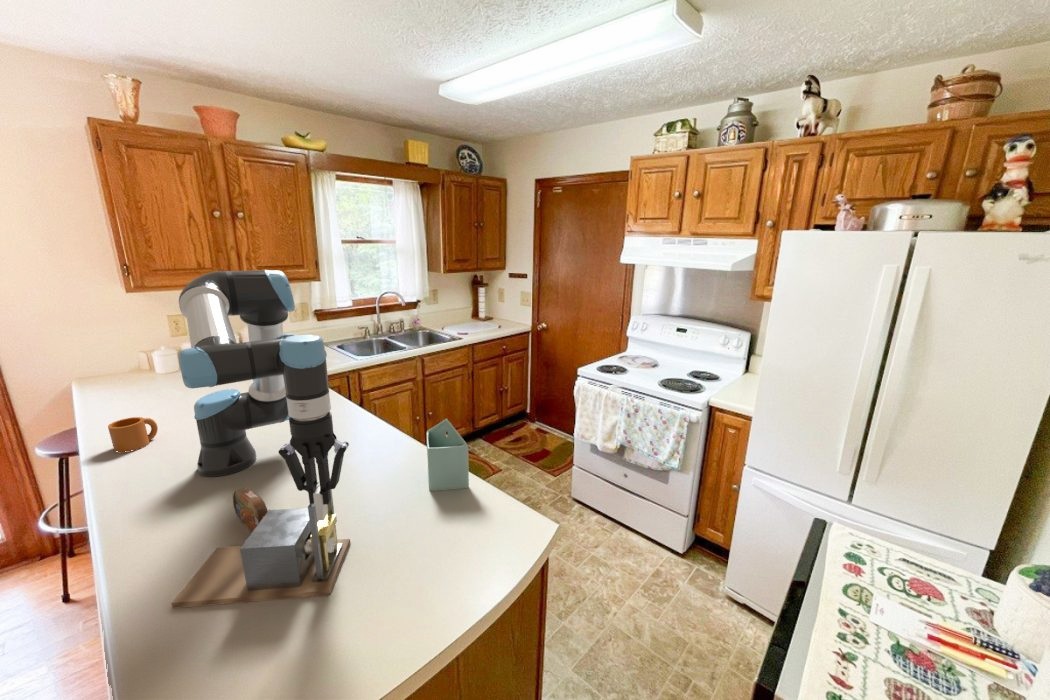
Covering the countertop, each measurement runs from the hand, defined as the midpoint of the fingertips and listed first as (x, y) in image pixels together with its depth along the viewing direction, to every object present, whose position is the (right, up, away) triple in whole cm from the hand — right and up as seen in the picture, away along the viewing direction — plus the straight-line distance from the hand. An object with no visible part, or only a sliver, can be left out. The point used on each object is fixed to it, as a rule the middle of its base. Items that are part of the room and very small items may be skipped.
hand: (322, 516), depth 87 cm
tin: (-26, -9, +16) cm, 32 cm away
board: (-12, -13, +2) cm, 18 cm away
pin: (-7, -10, +1) cm, 12 cm away
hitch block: (-6, -11, +2) cm, 13 cm away
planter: (+18, -5, +35) cm, 39 cm away
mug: (-90, +2, +54) cm, 105 cm away
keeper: (0, -10, +2) cm, 11 cm away
